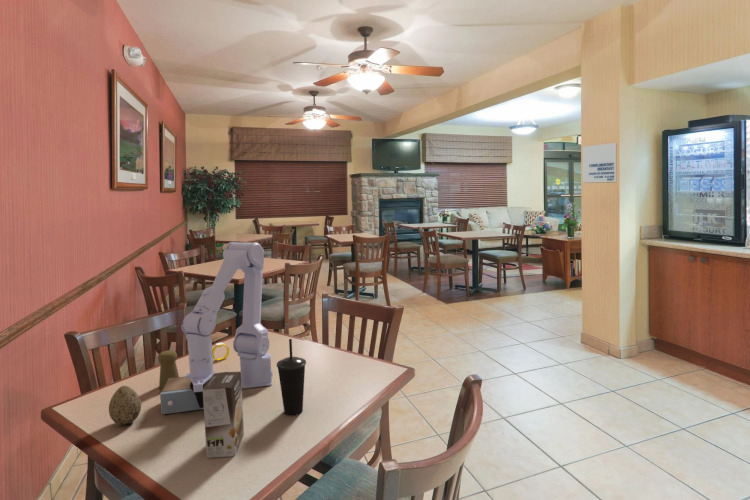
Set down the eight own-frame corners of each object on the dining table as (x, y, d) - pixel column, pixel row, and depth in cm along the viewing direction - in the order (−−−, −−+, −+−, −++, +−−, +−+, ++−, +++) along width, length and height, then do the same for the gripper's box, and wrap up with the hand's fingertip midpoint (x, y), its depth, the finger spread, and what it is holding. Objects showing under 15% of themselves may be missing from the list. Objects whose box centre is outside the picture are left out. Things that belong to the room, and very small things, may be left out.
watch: (214, 363, 150) (212, 347, 149) (211, 361, 152) (209, 345, 151) (231, 357, 154) (228, 342, 152) (227, 355, 156) (225, 340, 155)
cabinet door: (227, 403, 118) (226, 384, 117) (227, 408, 115) (225, 388, 115) (162, 412, 114) (161, 392, 113) (160, 417, 111) (158, 396, 111)
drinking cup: (283, 421, 109) (279, 346, 106) (275, 408, 115) (272, 337, 113) (311, 414, 112) (309, 340, 110) (302, 402, 119) (299, 333, 116)
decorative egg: (145, 423, 109) (142, 386, 108) (113, 433, 104) (109, 395, 103) (138, 413, 114) (135, 377, 113) (107, 422, 110) (104, 385, 108)
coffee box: (235, 456, 94) (231, 387, 92) (206, 458, 93) (201, 389, 92) (244, 434, 103) (241, 370, 101) (217, 435, 103) (213, 372, 101)
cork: (172, 391, 127) (169, 355, 126) (154, 389, 129) (151, 354, 127) (184, 382, 133) (182, 348, 132) (167, 381, 135) (165, 347, 133)
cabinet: (228, 391, 127) (227, 371, 126) (225, 405, 118) (224, 384, 117) (170, 398, 123) (169, 378, 122) (163, 413, 114) (161, 391, 113)
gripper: (189, 349, 118) (192, 396, 119) (178, 369, 104) (182, 421, 105) (216, 347, 119) (219, 393, 121) (209, 366, 105) (212, 418, 107)
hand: (204, 406), depth 113 cm, fingers closed
